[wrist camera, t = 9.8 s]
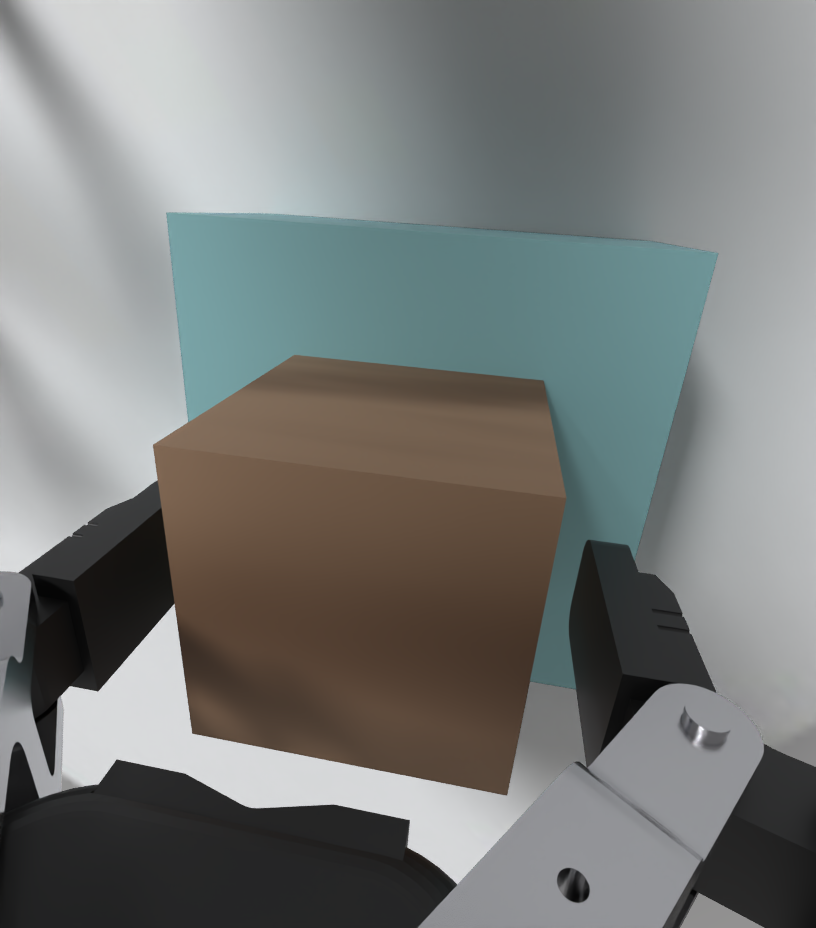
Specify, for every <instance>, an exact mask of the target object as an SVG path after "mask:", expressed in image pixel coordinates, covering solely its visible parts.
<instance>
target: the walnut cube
mask: <svg viewBox="0 0 816 928" xmlns="http://www.w3.org/2000/svg"><path fill="white" fill-rule="evenodd" d="M153 448H154V456H155V463H156V470H157V478H158V485H159V492H160V500H161V507H162V514H163V522H164V529H165V536H166V544H167V551H168V558H169V566H170V573H171V580H172V588H173V595H174V602H175V610H176V617H177V624H178V632H179V639H180V646H181V654H182V661H183V668H184V676H185V683H186V690H187V698H188V705H189V712H190V720H191V727H192V734H197V735H202V736H208V737H213V738H218V739H223V740H228V741H233V742H238V743H243V744H248V745H253V746H258V747H263V748H268V749H274V750H279V751H284V752H289V753H294V754H299V755H304V756H309V757H314V758H319V759H324V760H329V761H334V762H340V763H345V764H350V765H355V766H360V767H365V768H370V769H375V770H380V771H385V772H390V773H395V774H400V775H406V776H411V777H416V778H421V779H426V780H431V781H436V782H441V783H446V784H451V785H456V786H461V787H466V788H472V789H477V790H482V791H487V792H492V793H497V794H502V795H507V793H508V788H509V783H510V778H511V773H512V768H513V763H514V758H515V753H516V748H517V743H518V738H519V733H520V728H521V723H522V718H523V713H524V708H525V703H526V698H527V693H528V688H529V683H530V678H531V673H532V668H533V663H534V658H535V653H536V648H537V643H538V638H539V633H540V628H541V623H542V618H543V613H544V608H545V603H546V598H547V593H548V588H549V583H550V578H551V573H552V568H553V563H554V558H555V553H556V548H557V543H558V538H559V533H560V528H561V523H562V518H563V513H564V508H565V503H566V493H565V488H564V483H563V477H562V472H561V467H560V462H559V457H558V452H557V447H556V441H555V436H554V431H553V426H552V421H551V416H550V411H549V405H548V400H547V395H546V390H545V385H544V380H535V379H525V378H515V377H505V376H496V375H486V374H476V373H467V372H457V371H447V370H437V369H428V368H418V367H408V366H399V365H389V364H379V363H369V362H360V361H350V360H340V359H331V358H321V357H311V356H301V355H293V356H292V357H290V358H289V359H287V360H285V361H284V362H282V363H281V364H279V365H278V366H276V367H274V368H273V369H271V370H270V371H268V372H267V373H265V374H263V375H262V376H260V377H259V378H257V379H256V380H254V381H252V382H251V383H249V384H248V385H246V386H245V387H243V388H242V389H240V390H238V391H237V392H235V393H234V394H232V395H231V396H229V397H227V398H226V399H224V400H223V401H221V402H220V403H218V404H216V405H215V406H213V407H212V408H210V409H209V410H207V411H205V412H204V413H202V414H201V415H199V416H198V417H196V418H195V419H193V420H191V421H190V422H188V423H187V424H185V425H184V426H182V427H180V428H179V429H177V430H176V431H174V432H173V433H171V434H169V435H168V436H166V437H165V438H163V439H162V440H160V441H158V442H157V443H155V444H154V445H153Z"/></svg>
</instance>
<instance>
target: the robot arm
mask: <svg viewBox="0 0 816 928" xmlns="http://www.w3.org/2000/svg"><path fill="white" fill-rule="evenodd" d="M174 603H175V602H174V595H173V588H172V580H171V573H170V566H169V558H168V551H167V544H166V536H165V529H164V522H163V514H162V507H161V500H160V492H159V485H158V480H157V481H156V482H154V483H153V484H151V485H150V486H149V487H147V488H146V489H145V490H143V491H142V492H141V493H139V494H138V495H137V496H135V497H134V498H133V499H129V500H127V501H125V502H122V503H120V504H117V505H115V506H112V507H110V508H108V509H106V510H104V511H103V512H102V513H100V514H99V515H97V516H96V517H95V518H93V519H92V520H91V521H89V522H88V525H84V526H82V527H81V528H80V529H78V530H77V531H75V532H74V533H73V535H72V537H70V536H69V537H67V538H66V539H64V540H63V541H62V542H60V543H59V544H58V545H56V546H55V547H53V548H52V549H51V550H49V551H48V552H47V553H45V554H44V555H42V556H41V557H40V558H38V559H37V560H36V561H34V562H33V563H31V564H30V565H29V566H27V567H26V568H25V569H23V570H22V571H20V572H19V573H16V572H3V571H2V572H0V928H680V926H681V925H682V923H683V921H684V919H685V917H686V915H687V914H688V912H689V910H690V908H691V906H692V904H693V902H694V901H695V899H696V897H697V895H698V893H700V894H702V895H704V896H706V897H708V898H710V899H712V900H714V901H716V902H718V903H719V904H721V905H724V906H725V907H727V908H729V909H731V910H732V911H734V912H736V913H738V914H740V915H742V916H744V917H746V918H748V919H749V920H751V921H753V922H755V923H757V924H759V925H761V926H763V927H764V928H816V767H814V766H812V765H809V764H807V763H804V762H802V761H799V760H797V759H795V758H792V757H790V756H787V755H785V754H783V753H781V752H779V751H776V750H774V749H772V748H771V747H769V746H767V745H765V744H763V739H762V736H761V734H760V732H759V730H758V728H757V727H756V725H755V724H754V722H753V721H752V720H751V719H750V718H749V716H748V715H747V714H746V713H745V712H743V711H742V710H741V709H740V708H739V707H738V706H736V705H735V704H734V703H733V702H731V701H729V700H728V699H726V698H725V697H723V696H721V695H719V694H717V693H716V691H715V688H714V686H713V684H712V681H711V679H710V677H709V674H708V672H707V670H706V667H705V665H704V663H703V660H702V658H701V656H700V653H699V651H698V649H697V646H696V644H695V642H694V639H693V637H692V635H691V634H689V628H688V625H687V623H686V621H685V618H684V617H682V611H681V609H680V607H679V604H678V602H677V600H676V597H675V595H674V593H673V592H672V591H671V590H670V589H669V588H668V587H667V586H666V585H665V584H664V583H663V582H662V581H661V580H660V579H659V578H658V577H657V576H656V575H653V574H646V573H639V572H638V570H637V567H636V564H635V561H634V558H633V556H632V553H631V550H630V548H629V546H628V545H625V544H617V543H610V542H603V541H596V540H587V541H586V543H585V546H584V549H583V553H582V558H581V562H580V567H579V571H578V575H577V580H576V584H575V589H574V593H573V598H572V602H571V607H570V614H569V640H570V648H571V655H572V662H573V670H574V677H575V684H576V692H577V699H578V706H579V714H580V721H581V728H582V736H583V743H584V750H585V758H586V765H587V768H586V767H585V766H584V765H583V764H581V763H580V762H574V763H572V764H571V765H569V766H568V767H567V768H566V769H565V770H564V771H563V772H562V773H561V774H560V775H559V776H558V777H557V778H556V779H555V780H554V781H553V782H552V783H551V785H550V786H549V787H548V788H547V789H546V790H545V791H544V792H543V793H542V794H541V795H540V796H539V797H538V799H537V800H536V801H535V802H534V803H533V804H532V805H531V806H530V807H529V808H528V809H527V810H526V811H525V813H524V814H523V815H522V816H521V817H520V818H519V819H518V820H517V821H516V822H515V823H514V824H513V825H512V827H511V828H510V829H509V830H508V831H507V832H506V833H505V834H504V835H503V836H502V837H501V838H500V839H499V841H498V842H497V843H496V844H495V845H494V846H493V847H492V848H491V849H490V850H489V851H488V852H487V853H486V855H485V856H484V857H483V858H482V859H481V860H480V861H479V862H478V863H477V864H476V865H475V866H474V867H473V869H472V870H471V871H470V872H469V873H468V874H467V875H466V876H465V877H464V878H463V879H462V880H461V881H460V883H459V884H458V885H457V884H456V883H455V882H454V881H453V880H452V879H451V878H450V877H449V876H448V875H447V874H446V873H444V872H443V871H442V870H441V869H440V868H439V867H437V866H436V865H435V864H433V863H432V862H430V861H429V860H427V859H426V858H425V857H423V856H422V855H420V854H418V853H416V852H414V851H412V850H411V849H409V848H407V844H408V834H409V824H410V820H405V819H401V818H396V817H391V816H386V815H381V814H377V813H372V812H367V811H362V810H357V809H352V808H348V807H343V806H338V805H318V806H298V807H278V808H249V807H246V806H243V805H241V804H239V803H238V802H236V801H234V800H232V799H230V798H229V797H227V796H225V795H223V794H221V793H219V792H218V791H216V790H214V789H212V788H210V787H208V786H207V785H205V784H203V783H201V782H199V781H197V780H196V779H194V778H192V777H190V776H188V775H186V774H184V773H179V772H174V771H169V770H164V769H160V768H155V767H150V766H145V765H140V764H136V763H131V762H126V761H121V760H116V761H115V763H114V764H113V766H112V767H111V768H110V770H109V771H108V772H107V774H106V775H105V777H104V778H103V779H102V781H101V782H100V783H99V785H90V786H84V787H78V788H73V789H69V790H66V791H62V792H61V780H62V748H63V715H64V709H63V703H62V699H61V695H62V694H63V693H64V692H65V691H66V690H67V688H68V687H69V686H73V687H78V688H83V689H89V690H94V691H99V690H100V689H101V688H102V686H103V685H104V684H105V683H106V682H107V681H108V679H109V678H110V677H111V676H112V675H113V674H114V673H115V671H116V670H117V669H118V668H119V667H120V666H121V664H122V663H123V662H124V661H125V660H126V659H127V658H128V656H129V655H130V654H131V653H132V652H133V651H134V650H135V648H136V647H137V646H138V645H139V644H140V643H141V641H142V640H143V639H144V638H145V637H146V636H147V635H148V633H149V632H150V631H151V630H152V629H153V628H154V626H155V625H156V624H157V623H158V622H159V621H160V620H161V618H162V617H163V616H164V615H165V614H166V613H167V611H168V610H169V609H170V608H171V607H172V606H173V605H174Z"/></svg>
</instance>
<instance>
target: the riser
mask: <svg viewBox="0 0 816 928" xmlns="http://www.w3.org/2000/svg"><path fill="white" fill-rule="evenodd" d="M166 214H167V223H168V233H169V243H170V252H171V262H172V271H173V281H174V290H175V300H176V309H177V319H178V328H179V338H180V348H181V357H182V367H183V376H184V386H185V395H186V405H187V414H188V422H190V421H191V420H193V419H195V418H196V417H198V416H199V415H201V414H202V413H204V412H205V411H207V410H209V409H210V408H212V407H213V406H215V405H216V404H218V403H220V402H221V401H223V400H224V399H226V398H227V397H229V396H231V395H232V394H234V393H235V392H237V391H238V390H240V389H242V388H243V387H245V386H246V385H248V384H249V383H251V382H252V381H254V380H256V379H257V378H259V377H260V376H262V375H263V374H265V373H267V372H268V371H270V370H271V369H273V368H274V367H276V366H278V365H279V364H281V363H282V362H284V361H285V360H287V359H289V358H290V357H292V356H293V355H301V356H311V357H321V358H331V359H340V360H350V361H360V362H369V363H379V364H389V365H399V366H408V367H418V368H428V369H437V370H447V371H457V372H467V373H476V374H486V375H496V376H505V377H515V378H525V379H535V380H544V385H545V390H546V395H547V400H548V405H549V411H550V416H551V421H552V426H553V431H554V436H555V441H556V447H557V452H558V457H559V462H560V467H561V472H562V477H563V483H564V488H565V493H566V503H565V508H564V513H563V518H562V523H561V528H560V533H559V538H558V543H557V548H556V553H555V558H554V563H553V568H552V573H551V578H550V583H549V588H548V593H547V598H546V603H545V608H544V613H543V618H542V623H541V628H540V633H539V638H538V643H537V648H536V653H535V658H534V663H533V668H532V673H531V678H530V682H536V683H542V684H548V685H554V686H560V687H565V688H571V689H576V684H575V677H574V670H573V662H572V655H571V648H570V640H569V614H570V607H571V602H572V598H573V593H574V589H575V584H576V580H577V575H578V571H579V567H580V562H581V558H582V553H583V549H584V546H585V543H586V541H587V540H596V541H603V542H610V543H617V544H625V545H628V546H629V548H630V550H631V553H632V556H633V558H634V561H635V557H636V554H637V550H638V546H639V543H640V539H641V535H642V532H643V528H644V524H645V521H646V517H647V513H648V510H649V506H650V502H651V499H652V495H653V491H654V488H655V484H656V480H657V477H658V473H659V469H660V466H661V462H662V458H663V455H664V451H665V447H666V444H667V440H668V436H669V433H670V429H671V425H672V422H673V418H674V414H675V411H676V407H677V403H678V400H679V396H680V392H681V389H682V385H683V381H684V378H685V374H686V370H687V367H688V363H689V359H690V356H691V352H692V348H693V345H694V341H695V337H696V334H697V330H698V326H699V323H700V319H701V315H702V312H703V308H704V304H705V301H706V297H707V293H708V290H709V286H710V282H711V279H712V275H713V271H714V268H715V264H716V260H717V257H718V253H714V252H709V251H703V250H698V249H692V248H687V247H681V246H675V245H670V244H664V243H659V242H653V241H642V240H628V239H614V238H600V237H586V236H572V235H558V234H545V233H531V232H517V231H503V230H489V229H475V228H461V227H448V226H434V225H420V224H406V223H392V222H378V221H365V220H351V219H337V218H323V217H309V216H295V215H281V214H261V213H166Z"/></svg>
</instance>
